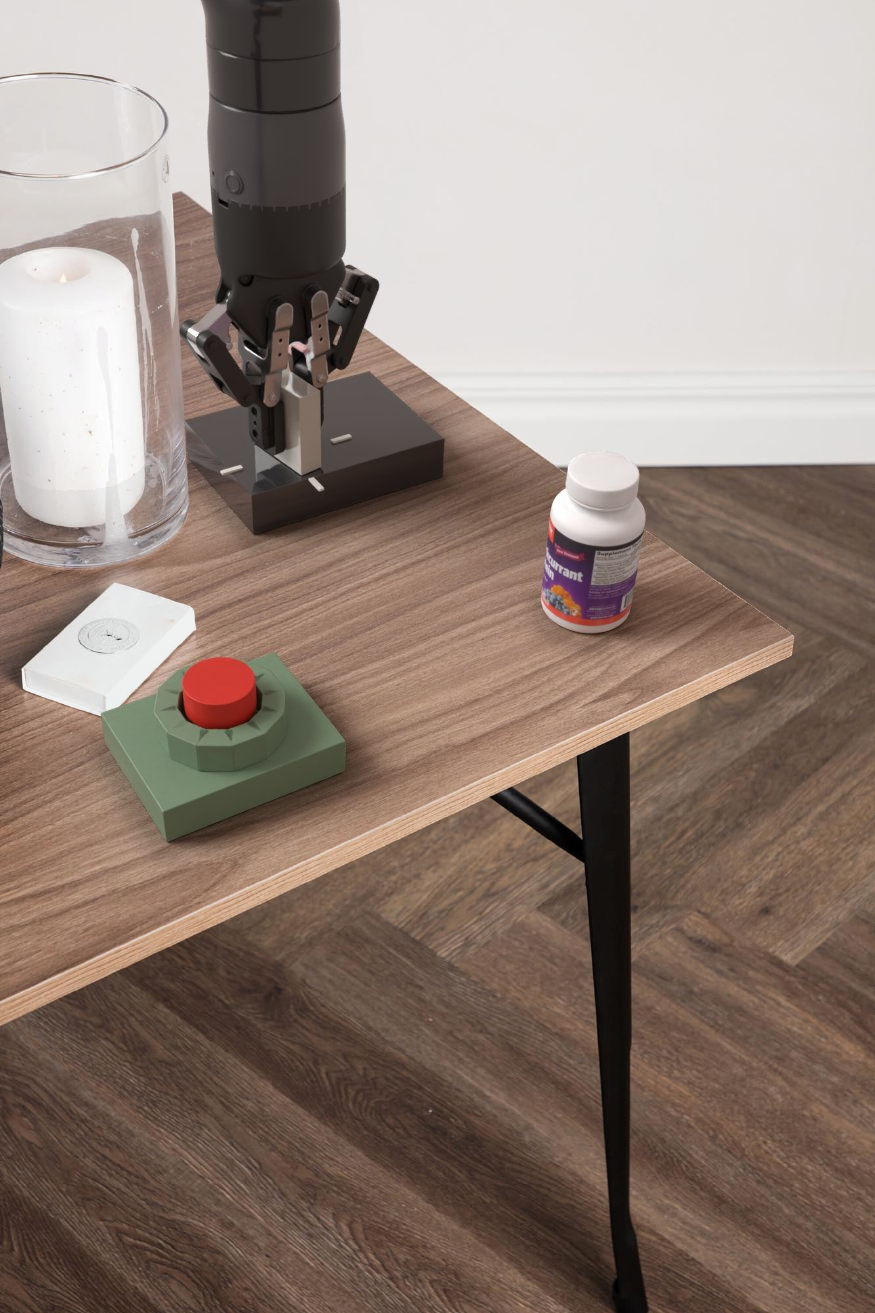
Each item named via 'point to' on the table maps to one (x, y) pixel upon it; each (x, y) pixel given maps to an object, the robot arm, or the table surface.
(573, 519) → the pill bottle
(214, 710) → the red button cap
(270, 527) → the panel
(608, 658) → the table surface
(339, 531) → the table surface
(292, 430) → the beige rectangular block
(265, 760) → the button housing
